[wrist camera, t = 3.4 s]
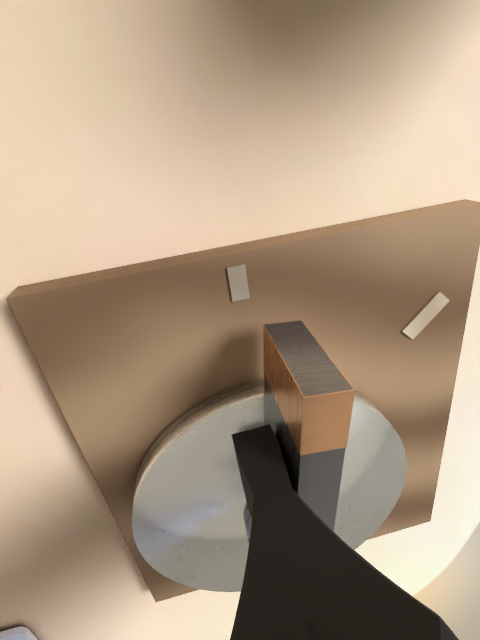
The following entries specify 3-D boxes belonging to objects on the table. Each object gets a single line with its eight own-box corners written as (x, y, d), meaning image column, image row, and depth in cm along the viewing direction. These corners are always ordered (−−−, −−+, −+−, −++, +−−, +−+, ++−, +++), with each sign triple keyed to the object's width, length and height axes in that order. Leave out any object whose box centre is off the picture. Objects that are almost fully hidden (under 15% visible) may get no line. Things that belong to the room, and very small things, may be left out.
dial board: (419, 505, 22) (431, 522, 21) (156, 582, 20) (155, 604, 19) (465, 199, 13) (489, 204, 12) (17, 286, 12) (4, 300, 11)
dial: (372, 538, 20) (428, 644, 16) (154, 587, 18) (152, 722, 14) (428, 289, 13) (553, 359, 9) (90, 326, 11) (48, 437, 7)
